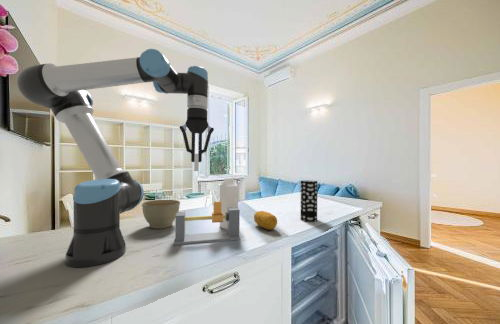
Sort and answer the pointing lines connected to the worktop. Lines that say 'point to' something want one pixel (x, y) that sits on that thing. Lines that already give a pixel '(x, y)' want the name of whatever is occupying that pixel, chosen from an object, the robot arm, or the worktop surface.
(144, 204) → the planter bowl
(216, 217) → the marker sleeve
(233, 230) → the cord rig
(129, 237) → the worktop surface
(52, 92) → the robot arm
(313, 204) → the white-spotted black cylinder
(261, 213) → the potato
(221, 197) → the milk
